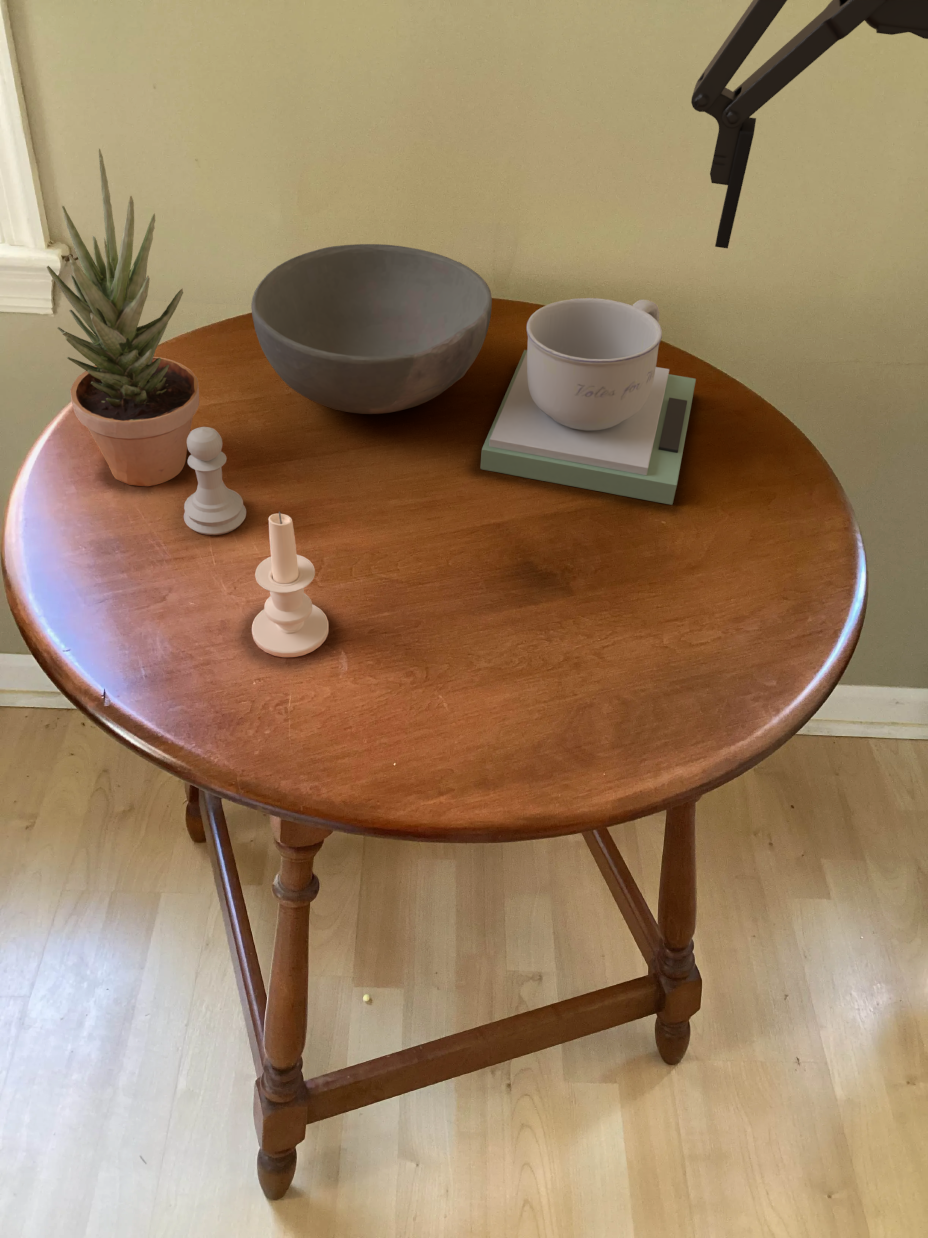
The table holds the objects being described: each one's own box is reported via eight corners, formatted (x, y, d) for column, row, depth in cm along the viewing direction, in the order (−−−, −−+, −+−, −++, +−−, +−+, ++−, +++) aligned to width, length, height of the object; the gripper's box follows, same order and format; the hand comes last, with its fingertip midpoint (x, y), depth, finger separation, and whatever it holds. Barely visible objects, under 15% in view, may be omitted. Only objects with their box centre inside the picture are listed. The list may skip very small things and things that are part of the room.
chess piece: (255, 527, 80) (244, 439, 74) (194, 543, 78) (179, 454, 73) (235, 493, 83) (224, 406, 77) (176, 507, 81) (160, 419, 76)
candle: (286, 595, 75) (274, 476, 67) (344, 625, 73) (338, 506, 65) (236, 636, 71) (218, 516, 64) (295, 669, 69) (284, 549, 62)
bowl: (370, 315, 105) (368, 217, 98) (529, 393, 96) (540, 290, 89) (212, 391, 93) (198, 285, 86) (376, 487, 84) (375, 378, 77)
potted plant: (220, 486, 83) (176, 172, 66) (98, 509, 81) (18, 188, 63) (195, 420, 90) (149, 119, 73) (81, 439, 87) (5, 131, 70)
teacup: (575, 461, 83) (588, 372, 78) (493, 398, 89) (500, 312, 84) (698, 410, 90) (718, 325, 84) (614, 355, 96) (628, 272, 90)
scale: (691, 397, 96) (697, 370, 94) (672, 505, 84) (678, 476, 82) (522, 368, 99) (525, 341, 97) (480, 469, 87) (482, 440, 85)
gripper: (1250, -183, 48) (1050, 260, 63) (706, -228, 52) (637, 201, 66) (1303, -161, 43) (1070, 318, 57) (692, -213, 46) (620, 249, 61)
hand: (838, 256), depth 62 cm, fingers open, 13 cm apart
